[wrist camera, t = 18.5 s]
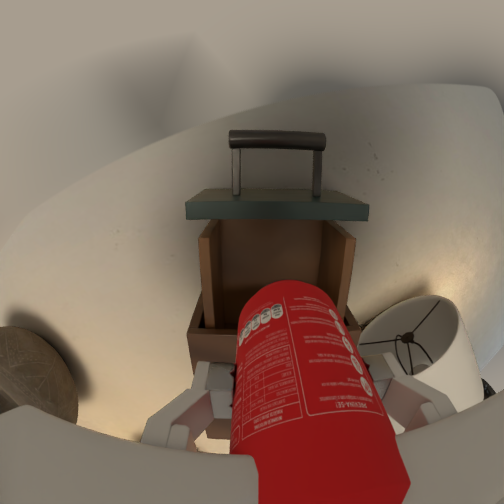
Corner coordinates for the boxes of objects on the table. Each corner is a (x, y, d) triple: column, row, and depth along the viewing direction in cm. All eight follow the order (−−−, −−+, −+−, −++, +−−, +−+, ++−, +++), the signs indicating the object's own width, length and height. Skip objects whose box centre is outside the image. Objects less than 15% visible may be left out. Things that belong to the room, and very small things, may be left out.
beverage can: (314, 256, 13) (436, 494, 2) (341, 330, 15) (417, 518, 4) (222, 294, 14) (180, 541, 3) (261, 361, 16) (269, 555, 4)
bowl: (115, 401, 36) (86, 468, 22) (49, 396, 38) (20, 444, 24) (47, 297, 30) (-17, 357, 15) (-6, 314, 32) (-50, 356, 17)
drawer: (204, 136, 23) (183, 127, 16) (338, 140, 23) (372, 134, 16) (212, 322, 29) (202, 371, 22) (323, 321, 29) (340, 367, 22)
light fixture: (381, 460, 36) (310, 357, 31) (447, 398, 38) (411, 269, 33) (427, 507, 19) (391, 435, 14) (501, 429, 22) (510, 284, 17)
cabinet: (205, 280, 29) (186, 333, 19) (331, 279, 29) (361, 330, 19) (215, 382, 34) (207, 438, 25) (314, 380, 34) (327, 435, 25)
